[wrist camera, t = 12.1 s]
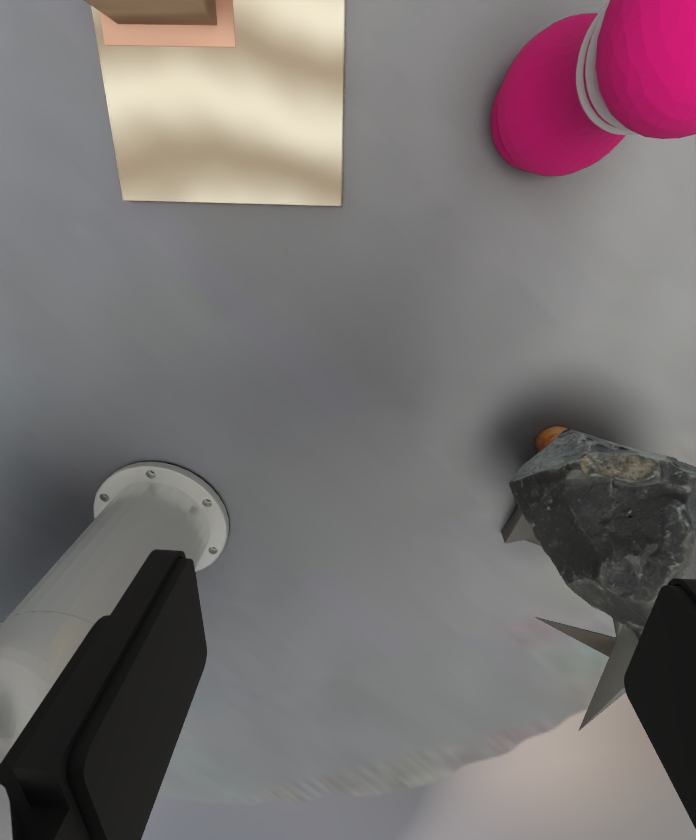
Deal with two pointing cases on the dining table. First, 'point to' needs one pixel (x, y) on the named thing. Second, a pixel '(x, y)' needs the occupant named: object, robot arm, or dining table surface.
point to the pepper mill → (598, 85)
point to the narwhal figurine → (607, 534)
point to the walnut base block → (158, 11)
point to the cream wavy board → (229, 104)
